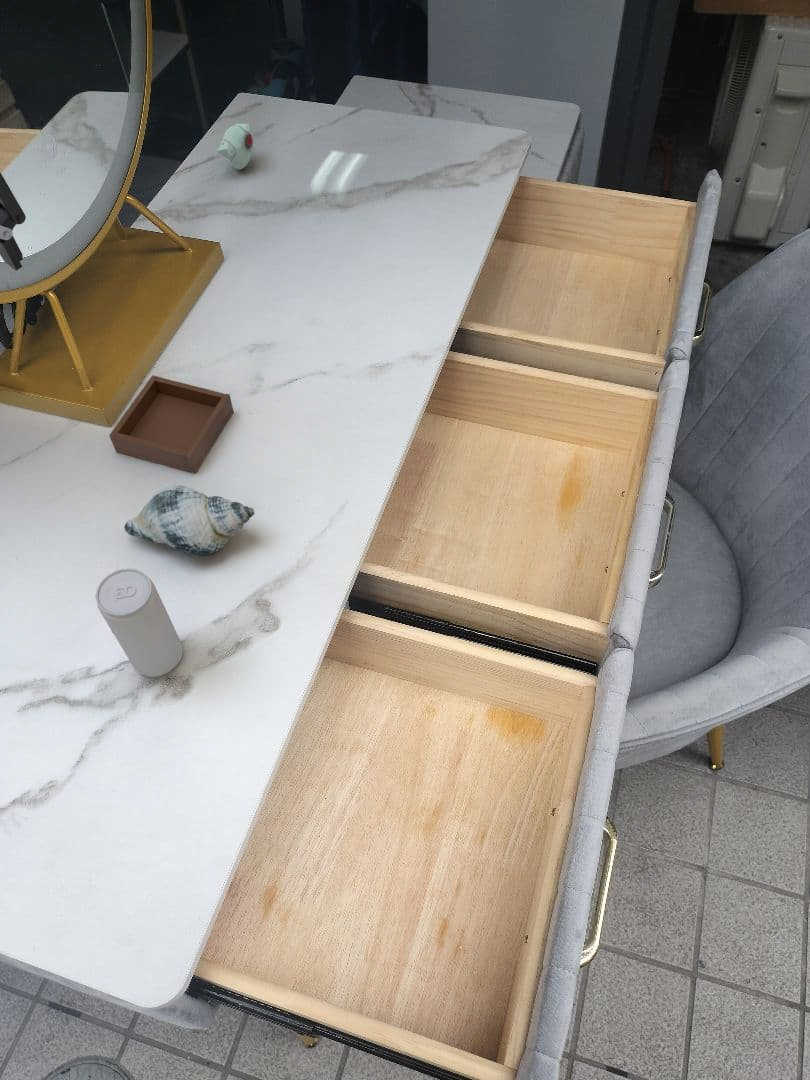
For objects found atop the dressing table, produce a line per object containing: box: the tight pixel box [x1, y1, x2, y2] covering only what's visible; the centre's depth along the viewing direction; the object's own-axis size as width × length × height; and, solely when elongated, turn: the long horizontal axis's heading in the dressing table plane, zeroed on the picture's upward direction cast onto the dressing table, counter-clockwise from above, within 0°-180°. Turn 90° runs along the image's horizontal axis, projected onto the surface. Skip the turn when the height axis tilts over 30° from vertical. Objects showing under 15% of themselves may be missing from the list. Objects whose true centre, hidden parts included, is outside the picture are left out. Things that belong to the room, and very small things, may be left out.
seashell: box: [123, 484, 256, 557], centre depth 83 cm, size 6×8×12 cm
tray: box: [108, 375, 234, 474], centre depth 92 cm, size 10×10×3 cm
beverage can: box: [95, 567, 184, 678], centre depth 72 cm, size 5×5×12 cm
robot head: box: [216, 122, 254, 171], centre depth 121 cm, size 8×4×7 cm, turn 159°
